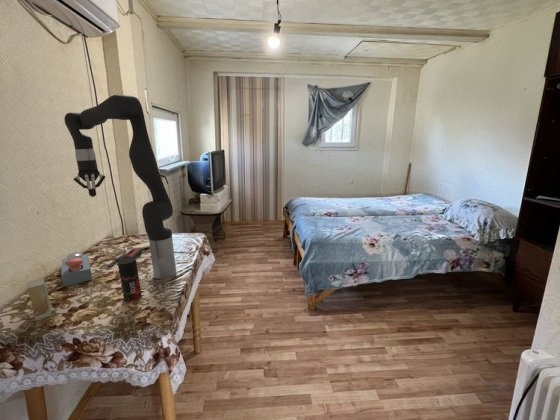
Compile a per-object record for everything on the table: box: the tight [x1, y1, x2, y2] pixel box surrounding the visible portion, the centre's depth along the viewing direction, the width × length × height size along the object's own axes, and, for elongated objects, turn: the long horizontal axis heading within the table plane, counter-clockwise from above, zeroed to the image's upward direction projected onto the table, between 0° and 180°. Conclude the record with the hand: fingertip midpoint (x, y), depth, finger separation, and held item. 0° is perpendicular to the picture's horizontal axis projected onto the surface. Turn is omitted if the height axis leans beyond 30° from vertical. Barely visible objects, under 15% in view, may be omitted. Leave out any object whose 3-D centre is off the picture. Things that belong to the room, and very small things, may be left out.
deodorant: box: [117, 257, 142, 303], centre depth 109 cm, size 6×6×15 cm
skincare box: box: [27, 277, 52, 321], centre depth 100 cm, size 6×4×12 cm
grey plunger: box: [66, 252, 83, 260], centre depth 134 cm, size 6×6×6 cm
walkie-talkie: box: [106, 247, 143, 268], centre depth 145 cm, size 9×4×20 cm
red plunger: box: [66, 258, 83, 271], centre depth 125 cm, size 6×6×6 cm
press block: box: [60, 253, 93, 287], centre depth 130 cm, size 20×10×5 cm, turn 35°
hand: (93, 196), depth 137 cm, fingers closed
